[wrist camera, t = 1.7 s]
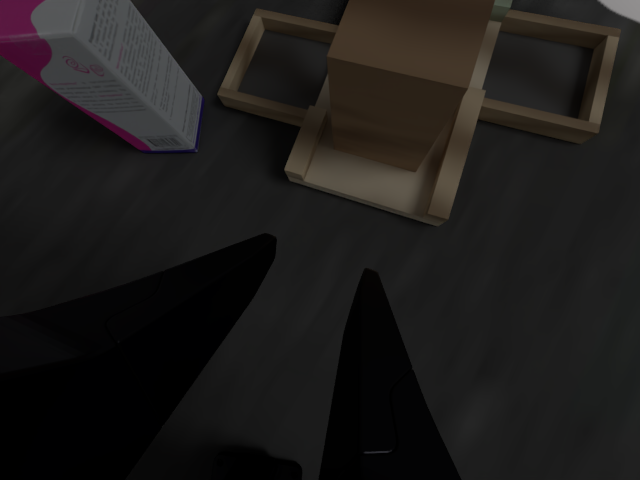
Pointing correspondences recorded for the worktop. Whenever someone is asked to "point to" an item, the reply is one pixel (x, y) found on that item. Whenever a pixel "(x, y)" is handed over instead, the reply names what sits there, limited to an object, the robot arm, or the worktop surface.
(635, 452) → the worktop surface
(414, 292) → the worktop surface
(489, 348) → the worktop surface
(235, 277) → the robot arm
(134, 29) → the supplement box
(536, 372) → the worktop surface
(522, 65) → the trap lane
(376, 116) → the walnut block
